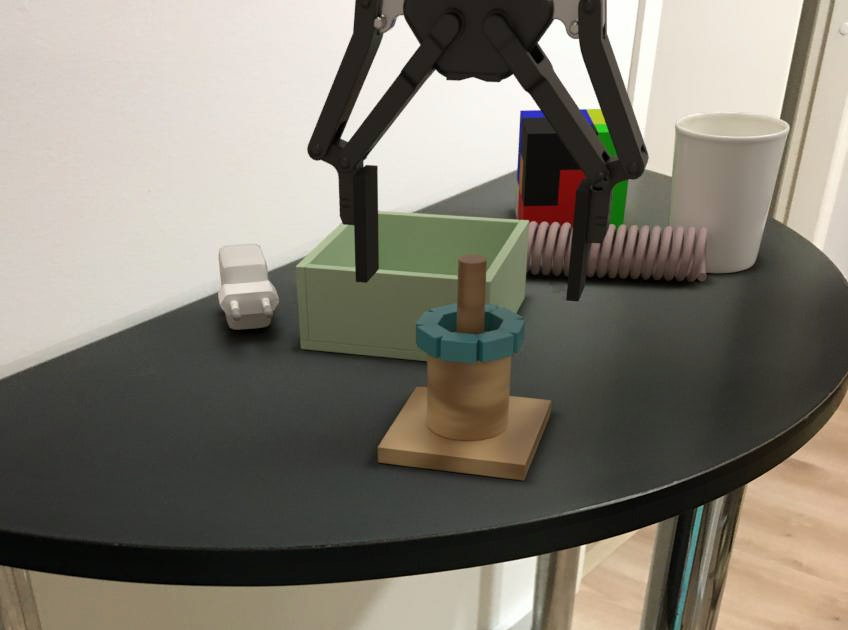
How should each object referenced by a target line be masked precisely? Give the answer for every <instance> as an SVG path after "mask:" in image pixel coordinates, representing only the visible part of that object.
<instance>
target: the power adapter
mask: <svg viewBox="0 0 848 630" xmlns="http://www.w3.org/2000/svg"><path fill="white" fill-rule="evenodd" d="M218 267H219V278H220V286H221V287H220V289H219V290H218V292H217V298H218V302H219V307H220V308H221V310H222V311H223V312H224V315H225V319H226V323H227V325H228V329H231V330H238V331H239V330H251V329H261V328H267V327H268V326H270V325H271V323H272V317H273V316H274V312H275V310H276V308H277V307H278V305H279V303H280V297H279V295H278V294H279V293H278V291H277V289H276V287H275V286H274V284H272V282H271V281H270V279H269V270H268V264H267V261H266V258H265V254H264V251H263V249H262V246H261V245H260V244H258V243H241V244H229V245H224V246H221V247H220V248H219V249H218Z"/></svg>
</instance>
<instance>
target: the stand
mask: <svg viewBox="0 0 848 630" xmlns="http://www.w3.org/2000/svg"><path fill="white" fill-rule="evenodd" d="M486 265H487V259H486V257H484V256H482V255H477V254H468V255H463V256H461V257H459V259H458V285H457V328H456V332H454V333H465V334H476V335H477V334H481V333H485V332H487V331H484V317H485V291H486ZM512 357H513V356H510V357H506V358H502V359H498V360H494V361H490V362H486V363H482V362H480V361H479V360H477V362H476V363H475V364H472V363H462V362H452V361H442V360H440V357H438V358H433V357H432V356H430V355H429V354H427V361H426V386H418V385H417V386H416V387H415V388H414V389H413V391H412V392H411V394H410V396H409V397H408V399H407V400H406V402H405V404H404V405H403V406H402V408H401V410H400V411H399V413H398V415H397V416H396V417H395V419H394V420H393V422H392V424H391V426H390V427H389V428H388V430H387V432H386V433H385V435H384V436H383V438H382V440H381V441H380V443H379V444H378V445H377V463H378V464H386V465H387V464H388V465H395V466H403V467H410V468H418V469H426V470H435V471H443V472H451V473H452V472H453V473H459V474H468V475H474V476H475V475H476V476H484V477H491V478H499V479H507V480H508V479H509V480H516V481H525V479H526V478H527V476H528V472H529V470H530V467H531V464H532V462H533V459H534V457H535V455H536V452H537V450H538V447H539V444H540V441H541V439H542V437H543V434H544V432H545V430H546V427H547V425H548V422H549V419H550V417H551V410H552V400H551V399H542V398H532V397H525V396H524V397H523V396H514V395H513V396H512V395H511V378H512V376H511V375H512Z"/></svg>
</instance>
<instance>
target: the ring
mask: <svg viewBox="0 0 848 630" xmlns="http://www.w3.org/2000/svg"><path fill="white" fill-rule="evenodd" d="M525 327H526V321H525V319H524V316H521V315H520V314H518V313H515V312H513V311H511V310H509V309H507V308H506V307H501V308H498V305H491V304H485V317H484V331H487V332H485V333H481V334H477V335H476V334H465V333H454V332H456V328H457V303H455V304H450V305H446V306H441V307H437V308H432V309H429V312H424V313H423V315H422V316H421V318H420V319H419V320H418V322H417V323H416V344H417V347H418V348H420V349H421V350H423V351H424V352H426V353H427V354H429V355H430V356H432V357H433V358H438V357H440V360H442V361H452V362H462V363H472V364H475V363H476V362H477V360H479V361H480V362H482V363H486V362H490V361H494V360H498V359H502V358H506V357H510V356H512V357H513V356H514V354H518V352H519V350H520V348H521V346H522V345H523V342H524V341H525V331H526V330H525V329H526V328H525Z"/></svg>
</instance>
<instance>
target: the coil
mask: <svg viewBox="0 0 848 630" xmlns="http://www.w3.org/2000/svg"><path fill="white" fill-rule="evenodd" d="M662 230H663V231H662ZM572 231H573V228H572V227H571V224H570V223H567V222H566V223H564V224H563V225H562V227H560V224H559V223H558V222H554V223H552V225H551V226H550V227H549V224H548V223H547V222H542V223H541V224H540V225H539V226H538V224H537V223H536V222H535V221H532V222H530V223H529V233H528V250H527V266H526V275H527V273H529V270H530V272H531V274H532V275H533V276H536V275H539V273H540V269H541V273H542V274H543V276H549V275H550V273H551V269H552V274H553V276H556V277H558V276H560V275H561V274H562V270H563V275H564V276H565V277H568V275H569V264H570V253H571V242H572ZM662 232H663V233H662ZM684 232H685V230H684V228H683V227H680V226H679V227H677V229H676V231H675V235H674V241H673V229H672V227H671V226H668V225H667V226H666V227H665V228H664V229H662V227H661V226H660V225H655V226H653V228H652V230H651V227H650V226H649V225H647V224H646V225H643V226H641V228H640V229H639V226H638V225H637V224H632V225H630V227H629V229H628V226H627V225H626V224H622V225H620V226H619V228H618V230H617V233H616V227H615V225H614V224H610V225H609V229H608V232H607V234H606V236H605V238H604V240H603V242H602V244H600V243H589V250H588V260H587V270H586V278H593V277H594V275H595V273H596V276H597V277H598V278H599V279H602V278H604V277H605V276H606V275H607V277H608V278H610V279H614V278H616V277H617V276H618V277H619V278H621V279H623V280H624V279H627V277H628V276H629V277H630V278H631V279H632V280H637V279H639V277H640V276H641V278H642V280H645V281H647V280H649V279H650V278H651V277H652V279H653V280H654V281H660V280H661V279H662V278H663V279H664V280H665V281H667V282H670V281H672V280H673V279H675V280H676V281H677V282H683V281H684V280H685V279H686V280H687V281H688V282H690V283H692V282H694V281H696V279H697V280H698V281H699V282H706V280H707V278H708V277H707V273H706V268H705V264H706V244H707V233H708V230H707V229H706V228H705V227H702V228H700V230H699V233H698V238H697V244H696V249H695V239H696V229H695V228H694V227H690V228H689V229H688V230H687V234H686V240H685V245H684ZM672 242H673V246H672ZM683 248H684V250H683Z"/></svg>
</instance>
